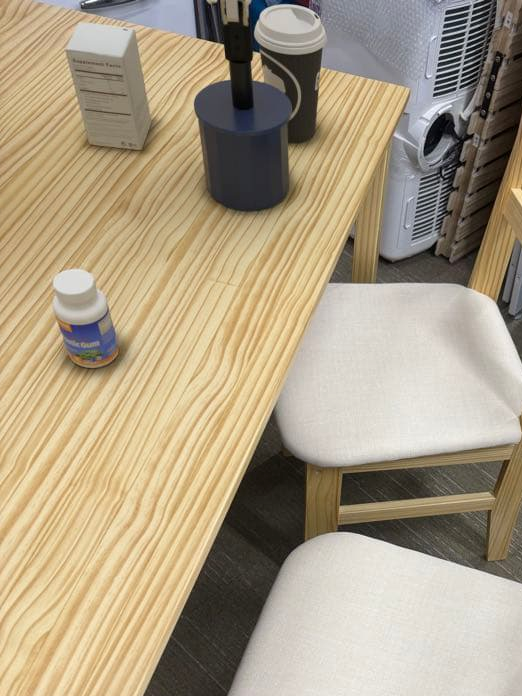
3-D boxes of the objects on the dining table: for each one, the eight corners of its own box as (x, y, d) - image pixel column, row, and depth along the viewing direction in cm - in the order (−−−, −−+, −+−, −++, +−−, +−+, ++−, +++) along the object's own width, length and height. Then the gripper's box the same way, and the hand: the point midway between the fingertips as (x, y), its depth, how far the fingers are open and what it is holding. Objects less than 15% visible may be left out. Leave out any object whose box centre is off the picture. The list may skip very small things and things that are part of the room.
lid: (191, 138, 94) (183, 81, 88) (198, 85, 100) (191, 29, 94) (292, 143, 95) (290, 87, 89) (292, 91, 101) (290, 36, 96)
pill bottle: (61, 364, 85) (34, 293, 77) (80, 331, 88) (56, 259, 80) (109, 373, 85) (88, 303, 77) (127, 340, 88) (108, 269, 80)
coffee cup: (323, 152, 112) (325, 40, 99) (256, 146, 111) (249, 32, 98) (327, 116, 117) (328, 5, 104) (262, 110, 116) (256, -3, 104)
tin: (204, 209, 102) (194, 131, 93) (209, 161, 108) (200, 83, 99) (289, 213, 104) (287, 136, 95) (289, 164, 109) (287, 88, 101)
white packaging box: (100, 116, 111) (78, 19, 101) (153, 122, 112) (136, 27, 101) (87, 145, 107) (62, 48, 97) (141, 151, 108) (123, 55, 97)
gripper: (189, -170, 80) (210, 24, 95) (178, -112, 72) (203, 90, 88) (263, -163, 81) (272, 28, 96) (260, -105, 73) (270, 93, 88)
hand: (239, 57), depth 92 cm, fingers closed
